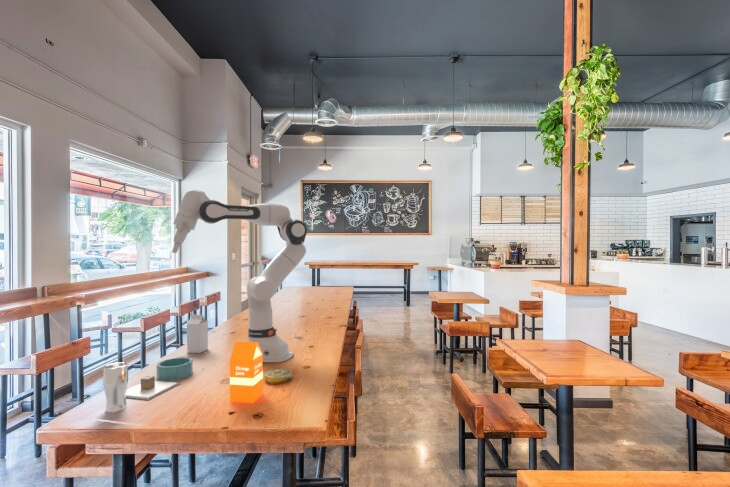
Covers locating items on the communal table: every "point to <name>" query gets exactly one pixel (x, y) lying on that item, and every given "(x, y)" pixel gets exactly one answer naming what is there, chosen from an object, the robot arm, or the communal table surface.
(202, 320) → the milk carton
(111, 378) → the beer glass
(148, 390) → the lid
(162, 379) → the bowl
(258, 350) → the orange juice
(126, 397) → the mat
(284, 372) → the decorated donut
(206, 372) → the communal table surface
